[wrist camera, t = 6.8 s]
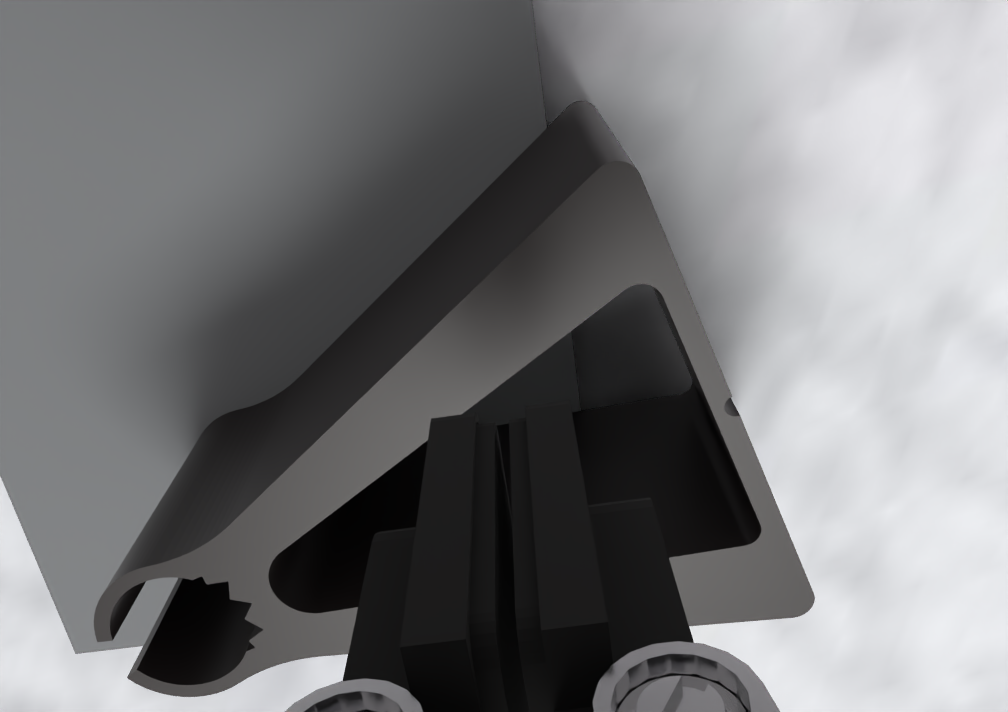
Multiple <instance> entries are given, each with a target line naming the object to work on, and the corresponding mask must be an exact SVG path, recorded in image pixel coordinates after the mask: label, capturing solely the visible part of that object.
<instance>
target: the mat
mask: <svg viewBox="0 0 1008 712" xmlns="http://www.w3.org/2000/svg"><path fill="white" fill-rule="evenodd" d="M546 128H547V125H546V117H545V108H544V100H543V92H542V83H541V75H540V67H539V58H538V50H537V42H536V33H535V25H534V16H533V8H532V0H0V476H1V478H2V481H3V483H4V486H5V488H6V490H7V493H8V495H9V497H10V500H11V502H12V504H13V507H14V509H15V512H16V514H17V516H18V519H19V521H20V523H21V526H22V528H23V530H24V533H25V535H26V538H27V540H28V542H29V545H30V547H31V549H32V552H33V554H34V556H35V559H36V561H37V564H38V566H39V568H40V571H41V573H42V575H43V578H44V580H45V582H46V585H47V587H48V590H49V592H50V594H51V597H52V599H53V601H54V604H55V606H56V608H57V611H58V613H59V616H60V618H61V620H62V623H63V625H64V627H65V630H66V632H67V634H68V637H69V639H70V642H71V644H72V646H73V649H74V651H75V653H76V654H79V653H87V652H96V651H104V650H113V649H121V648H129V647H138V646H144V644H145V642H146V640H147V638H148V636H149V634H150V632H151V630H152V628H153V626H154V624H155V622H156V621H157V619H158V617H159V615H160V613H161V611H162V609H163V607H164V605H165V603H166V601H167V599H168V597H169V595H170V593H171V591H172V589H173V587H174V585H175V583H176V582H177V580H178V578H174V577H168V578H158V579H153V580H149V581H146V582H145V584H144V586H143V588H142V590H141V591H140V593H139V595H138V597H137V598H136V600H135V602H134V604H133V606H132V607H131V609H130V611H129V613H128V615H127V616H126V618H125V620H124V622H123V623H122V625H121V627H120V629H119V631H118V632H117V634H116V636H115V638H114V639H113V641H105V642H97V639H96V636H95V631H94V614H95V609H96V606H97V604H98V601H99V599H100V597H101V596H102V594H103V593H104V591H105V589H106V588H107V586H108V584H109V583H110V581H111V580H112V578H113V576H114V575H115V573H116V572H117V570H118V568H119V567H120V565H121V563H122V562H123V560H124V559H125V557H126V555H127V554H128V552H129V551H130V549H131V547H132V546H133V544H134V542H135V541H136V539H137V538H138V536H139V534H140V533H141V531H142V530H143V528H144V526H145V525H146V523H147V521H148V520H149V518H150V517H151V515H152V513H153V512H154V510H155V509H156V507H157V505H158V504H159V502H160V500H161V499H162V497H163V496H164V494H165V492H166V491H167V489H168V488H169V486H170V484H171V483H172V481H173V479H174V478H175V476H176V475H177V473H178V471H179V470H180V468H181V467H182V465H183V463H184V462H185V460H186V459H187V457H188V455H189V454H190V452H191V450H192V449H193V447H194V446H195V444H196V442H197V441H198V439H199V438H200V436H201V434H202V433H203V431H204V430H205V429H206V428H207V426H208V425H209V424H210V423H212V422H213V421H214V420H215V419H217V418H218V417H220V416H222V415H224V414H226V413H229V412H231V411H235V410H239V409H243V408H247V407H250V406H253V405H256V404H258V403H261V402H263V401H265V400H268V399H269V398H271V397H273V396H275V395H277V394H278V393H280V392H281V391H283V390H284V389H286V388H287V387H288V386H290V385H291V384H292V383H293V382H294V381H295V380H296V379H297V378H299V377H300V376H301V375H302V374H303V373H304V372H305V371H306V370H307V369H308V368H309V367H310V366H311V365H312V364H313V363H314V362H315V361H316V359H317V358H318V357H319V356H320V355H321V354H322V353H323V352H324V351H325V350H326V349H327V348H328V347H329V346H330V345H331V344H332V343H333V342H334V341H335V340H336V339H337V338H338V337H339V336H340V335H341V334H342V333H343V332H344V331H345V330H346V329H347V328H348V327H349V326H350V325H351V324H352V323H353V322H354V321H355V320H356V319H357V318H358V317H359V316H360V315H361V314H362V313H363V312H364V311H365V310H366V309H367V308H368V307H369V306H370V305H371V304H372V303H373V302H374V301H375V300H376V299H377V298H378V297H379V296H380V295H381V294H382V293H383V292H384V291H385V290H386V289H387V288H388V287H389V286H390V285H391V284H392V283H393V282H394V281H395V280H396V279H397V278H398V277H399V276H400V275H401V274H402V273H403V272H404V271H405V270H406V269H407V268H408V267H409V266H410V265H411V264H412V263H413V262H414V261H415V260H416V259H417V258H418V257H419V256H420V255H421V254H422V253H423V252H424V251H425V250H426V249H427V248H428V247H429V246H430V245H431V244H432V243H433V242H434V241H435V240H436V239H437V238H438V237H439V236H440V235H441V234H442V233H443V232H444V231H445V230H446V229H447V228H448V227H449V226H450V225H451V224H452V223H453V222H454V221H455V220H456V219H457V218H458V217H459V216H460V215H461V214H462V213H463V212H464V211H465V210H466V209H467V208H468V207H469V206H470V205H471V204H472V203H473V202H474V201H475V200H476V199H477V198H478V197H479V196H480V195H481V194H482V193H483V192H484V191H485V190H486V189H487V188H488V187H489V186H490V185H491V184H492V183H493V182H494V181H495V180H496V179H497V178H498V177H499V176H500V175H501V174H502V173H503V172H504V171H505V170H506V169H507V168H508V167H509V166H510V165H511V164H512V163H513V162H514V161H515V160H516V159H517V158H518V157H519V156H520V155H521V154H522V153H523V152H524V151H525V150H526V149H527V148H528V147H529V146H530V145H531V144H532V143H533V142H534V141H535V140H536V138H537V137H538V136H539V135H540V134H541V133H542V132H543V131H544V130H545V129H546ZM567 400H570V405H571V410H572V412H578V411H581V409H580V400H579V392H578V384H577V375H576V367H575V359H574V350H573V342H572V333H571V331H570V332H569V333H568V334H567V335H565V336H564V337H563V338H561V339H560V340H559V341H557V342H556V343H555V344H553V345H552V346H551V347H549V348H548V349H547V350H546V351H544V352H543V353H542V354H540V355H539V356H538V357H536V358H535V359H534V360H532V361H531V362H530V363H528V364H527V365H526V366H525V367H523V368H522V369H521V370H519V371H518V372H517V373H515V374H514V375H513V376H511V377H510V378H509V379H507V380H506V381H505V382H504V383H502V384H501V385H500V386H498V387H497V388H496V389H494V390H493V391H492V392H490V393H489V394H488V395H486V396H485V397H484V398H483V399H481V400H480V401H479V402H477V403H476V404H475V405H473V406H472V407H471V408H469V409H468V410H467V411H465V412H464V413H463V414H469V413H477V415H478V419H479V423H480V424H483V423H490V422H495V423H496V425H502V424H508V423H509V420H513V419H521V418H526V411H525V406H529V405H537V404H544V403H552V402H559V401H567Z"/></svg>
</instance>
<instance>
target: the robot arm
mask: <svg viewBox="0 0 1008 712" xmlns="http://www.w3.org/2000/svg"><path fill="white" fill-rule="evenodd" d="M525 411H526V418H521V419H513V420H509V436H510V466H511V496H512V516H511V510H510V504H509V498H508V492H507V486H506V479H505V473H504V467H503V461H502V455H501V449H500V443H499V437H498V431H497V427H496V423H495V422H490V423H483V424H480V423H479V419H478V415H477V413H469V414H461V415H454V416H446V417H439V418H431V422H430V429H429V436H428V443H427V451H426V458H425V465H424V473H423V480H422V487H421V495H420V502H419V509H418V516H417V524H416V527H413V528H405V529H397V530H389V531H381V532H377V533H376V534H374V537H373V540H372V544H371V548H370V553H369V558H368V563H367V567H366V572H365V577H364V582H363V587H362V591H361V596H360V601H359V606H358V610H357V615H356V620H355V625H354V629H353V634H352V639H351V644H350V649H349V653H348V658H347V663H346V668H345V672H344V677H343V681H341V682H338V683H335V684H332V685H329V686H326V687H324V688H321V689H318V690H316V691H314V692H312V693H311V694H309V695H307V696H306V697H304V698H302V699H301V700H299V701H297V702H295V703H294V704H293V705H292V706H291V707H290V708H288V709H287V710H286V711H285V712H780V711H779V709H778V707H777V706H776V704H775V702H774V701H773V699H772V697H771V696H770V694H769V692H768V690H767V689H766V687H765V685H764V684H763V682H762V681H761V680H760V679H759V678H758V676H757V675H756V674H755V673H754V672H753V670H752V669H751V668H750V667H749V666H748V665H747V664H745V663H744V662H742V661H741V660H739V659H738V658H736V657H735V656H733V655H731V654H730V653H728V652H726V651H723V650H720V649H717V648H714V647H711V646H708V645H705V644H700V643H694V642H693V638H692V635H691V632H690V628H689V625H688V621H687V618H686V615H685V611H684V608H683V604H682V601H681V598H680V594H679V591H678V587H677V584H676V580H675V577H674V574H673V570H672V567H671V563H670V560H669V557H668V553H667V550H666V546H665V543H664V540H663V536H662V533H661V529H660V526H659V522H658V519H657V516H656V512H655V509H654V506H653V503H652V500H651V499H650V498H641V499H633V500H625V501H617V502H610V503H602V504H594V505H588V503H587V497H586V491H585V486H584V480H583V474H582V468H581V462H580V457H579V451H578V445H577V439H576V434H575V428H574V422H573V416H572V410H571V405H570V400H567V401H559V402H552V403H544V404H537V405H529V406H525Z"/></svg>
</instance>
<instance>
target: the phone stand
mask: <svg viewBox="0 0 1008 712" xmlns="http://www.w3.org/2000/svg"><path fill="white" fill-rule="evenodd" d="M638 284H646V285H650V286H652V287H653V289H654V291H655V294H656V296H657V298H658V301H659V303H660V305H661V308H662V310H663V312H664V314H665V317H666V319H667V321H668V324H669V326H670V328H671V331H672V333H673V335H674V338H675V340H676V342H677V345H678V347H679V349H680V352H681V354H682V356H683V359H684V361H685V363H686V366H687V368H688V370H689V373H690V375H691V377H692V386H691V388H690V389H689V390H688V391H687V392H685V393H683V394H678V395H672V396H666V397H660V398H654V399H648V400H643V401H637V402H631V403H625V404H619V405H613V406H607V407H602V408H596V409H590V410H584V411H578V412H572V416H573V422H574V428H575V434H576V439H577V445H578V451H579V457H580V462H581V468H582V474H583V480H584V486H585V491H586V497H587V503H588V505H594V504H602V503H610V502H617V501H625V500H633V499H641V498H650V499H651V500H652V503H653V506H654V509H655V512H656V516H657V519H658V522H659V526H660V529H661V533H662V536H663V540H664V543H665V546H666V550H667V553H668V557H669V560H670V563H671V567H672V570H673V574H674V577H675V580H676V584H677V587H678V591H679V594H680V598H681V601H682V604H683V608H684V611H685V615H686V618H687V621H688V625H689V626H696V625H709V624H721V623H733V622H745V621H758V620H770V619H782V618H794V617H798V616H801V615H803V614H805V613H806V612H808V611H809V610H810V609H811V607H812V606H813V603H814V599H815V597H814V593H813V591H812V588H811V586H810V584H809V581H808V579H807V576H806V574H805V571H804V569H803V567H802V564H801V562H800V559H799V557H798V555H797V552H796V550H795V547H794V545H793V542H792V540H791V538H790V535H789V533H788V530H787V528H786V526H785V523H784V521H783V518H782V516H781V514H780V511H779V509H778V506H777V504H776V501H775V499H774V497H773V494H772V492H771V489H770V487H769V485H768V482H767V480H766V477H765V475H764V473H763V470H762V468H761V465H760V463H759V460H758V458H757V456H756V453H755V451H754V448H753V446H752V444H751V441H750V439H749V436H748V434H747V432H746V429H745V427H744V424H743V422H742V419H741V417H740V415H739V413H738V411H737V409H736V407H735V405H734V404H733V402H732V400H731V398H730V397H732V395H731V393H730V390H729V388H728V386H727V383H726V381H725V378H724V376H723V374H722V371H721V369H720V366H719V364H718V362H717V359H716V357H715V354H714V352H713V349H712V347H711V345H710V342H709V340H708V337H707V335H706V333H705V330H704V328H703V325H702V323H701V321H700V318H699V316H698V313H697V311H696V308H695V306H694V304H693V301H692V299H691V296H690V294H689V292H688V289H687V287H686V284H685V282H684V280H683V277H682V275H681V272H680V270H679V267H678V265H677V263H676V260H675V258H674V255H673V253H672V251H671V248H670V246H669V243H668V241H667V238H666V236H665V234H664V231H663V229H662V226H661V224H660V222H659V219H658V217H657V214H656V212H655V210H654V207H653V205H652V202H651V200H650V197H649V195H648V193H647V190H646V188H645V185H644V183H643V181H642V178H641V176H640V174H639V172H638V170H637V169H636V167H635V166H634V164H633V163H632V161H631V160H630V158H629V157H628V155H627V154H626V152H625V151H624V150H623V148H622V147H621V145H620V144H619V142H618V141H617V139H616V138H615V136H614V135H613V133H612V132H611V130H610V129H609V127H608V126H607V124H606V123H605V121H604V120H603V118H602V117H601V115H600V114H599V112H598V111H597V109H596V108H595V107H594V106H593V105H592V104H591V103H589V102H585V101H578V102H575V103H572V104H571V105H570V106H568V107H567V108H566V109H565V110H564V111H563V112H562V113H561V114H560V115H559V116H558V117H557V118H556V119H555V120H554V121H553V122H552V123H551V124H550V125H549V126H548V127H547V128H546V129H545V130H544V131H543V132H542V133H541V134H540V135H539V136H538V137H537V138H536V140H535V141H534V142H533V143H532V144H531V145H530V146H529V147H528V148H527V149H526V150H525V151H524V152H523V153H522V154H521V155H520V156H519V157H518V158H517V159H516V160H515V161H514V162H513V163H512V164H511V165H510V166H509V167H508V168H507V169H506V170H505V171H504V172H503V173H502V174H501V175H500V176H499V177H498V178H497V179H496V180H495V181H494V182H493V183H492V184H491V185H490V186H489V187H488V188H487V189H486V190H485V191H484V192H483V193H482V194H481V195H480V196H479V197H478V198H477V199H476V200H475V201H474V202H473V203H472V204H471V205H470V206H469V207H468V208H467V209H466V210H465V211H464V212H463V213H462V214H461V215H460V216H459V217H458V218H457V219H456V220H455V221H454V222H453V223H452V224H451V225H450V226H449V227H448V228H447V229H446V230H445V231H444V232H443V233H442V234H441V235H440V236H439V237H438V238H437V239H436V240H435V241H434V242H433V243H432V244H431V245H430V246H429V247H428V248H427V249H426V250H425V251H424V252H423V253H422V254H421V255H420V256H419V257H418V258H417V259H416V260H415V261H414V262H413V263H412V264H411V265H410V266H409V267H408V268H407V269H406V270H405V271H404V272H403V273H402V274H401V275H400V276H399V277H398V278H397V279H396V280H395V281H394V282H393V283H392V284H391V285H390V286H389V287H388V288H387V289H386V290H385V291H384V292H383V293H382V294H381V295H380V296H379V297H378V298H377V299H376V300H375V301H374V302H373V303H372V304H371V305H370V306H369V307H368V308H367V309H366V310H365V311H364V312H363V313H362V314H361V315H360V316H359V317H358V318H357V319H356V320H355V321H354V322H353V323H352V324H351V325H350V326H349V327H348V328H347V329H346V330H345V331H344V332H343V333H342V334H341V335H340V336H339V337H338V338H337V339H336V340H335V341H334V342H333V343H332V344H331V345H330V346H329V347H328V348H327V349H326V350H325V351H324V352H323V353H322V354H321V355H320V356H319V357H318V358H317V359H316V361H315V362H314V363H313V364H312V365H311V366H310V367H309V368H308V369H307V370H306V371H305V372H304V373H303V374H302V375H301V376H300V377H299V378H297V379H296V380H295V381H294V382H293V383H292V384H291V385H290V386H288V387H287V388H286V389H284V390H283V391H281V392H280V393H278V394H277V395H275V396H273V397H271V398H269V399H268V400H265V401H263V402H261V403H258V404H256V405H253V406H250V407H247V408H243V409H239V410H235V411H231V412H229V413H226V414H224V415H222V416H220V417H218V418H217V419H215V420H214V421H213V422H212V423H210V424H209V425H208V426H207V428H206V429H205V430H204V431H203V433H202V434H201V436H200V438H199V439H198V441H197V442H196V444H195V446H194V447H193V449H192V450H191V452H190V454H189V455H188V457H187V459H186V460H185V462H184V463H183V465H182V467H181V468H180V470H179V471H178V473H177V475H176V476H175V478H174V479H173V481H172V483H171V484H170V486H169V488H168V489H167V491H166V492H165V494H164V496H163V497H162V499H161V500H160V502H159V504H158V505H157V507H156V509H155V510H154V512H153V513H152V515H151V517H150V518H149V520H148V521H147V523H146V525H145V526H144V528H143V530H142V531H141V533H140V534H139V536H138V538H137V539H136V541H135V542H134V544H133V546H132V547H131V549H130V551H129V552H128V554H127V555H126V557H125V559H124V560H123V562H122V563H121V565H120V567H119V568H118V570H117V572H116V573H115V575H114V576H113V578H112V580H111V581H110V583H109V584H108V586H107V588H106V589H105V591H104V593H103V594H102V596H101V597H100V599H99V601H98V604H97V606H96V609H95V614H94V631H95V636H96V639H97V642H105V641H113V639H114V638H115V636H116V634H117V632H118V631H119V629H120V627H121V625H122V623H123V622H124V620H125V618H126V616H127V615H128V613H129V611H130V609H131V607H132V606H133V604H134V602H135V600H136V598H137V597H138V595H139V593H140V591H141V590H142V588H143V586H144V584H145V582H146V581H149V580H153V579H158V578H168V577H174V578H178V580H177V582H176V583H175V585H174V587H173V589H172V591H171V593H170V595H169V597H168V599H167V601H166V603H165V605H164V607H163V609H162V611H161V613H160V615H159V617H158V619H157V621H156V622H155V624H154V626H153V628H152V630H151V632H150V634H149V636H148V638H147V640H146V642H145V644H144V646H143V648H142V650H141V652H140V654H139V656H138V658H137V660H136V661H135V663H134V665H133V667H132V669H131V671H130V673H129V675H128V677H127V678H128V679H130V680H131V681H133V682H135V683H136V684H138V685H140V686H142V687H145V688H147V689H150V690H152V691H155V692H159V693H162V694H167V695H173V696H181V697H197V696H206V695H211V694H215V693H219V692H222V691H224V690H227V689H229V688H231V687H233V686H235V685H237V684H238V683H240V682H242V681H243V680H245V679H246V678H248V677H250V676H252V675H254V674H256V673H258V672H260V671H263V670H265V669H268V668H270V667H273V666H276V665H279V664H282V663H286V662H290V661H294V660H298V659H304V658H310V657H319V656H330V655H342V654H348V653H349V649H350V644H351V639H352V634H353V629H354V625H355V620H356V615H357V610H358V606H359V601H360V596H361V591H362V587H363V582H364V577H365V572H366V567H367V563H368V558H369V553H370V548H371V544H372V540H373V537H374V534H376V533H377V532H381V531H389V530H397V529H405V528H413V527H416V524H417V516H418V509H419V502H420V495H421V487H422V480H423V473H424V465H425V458H426V451H427V443H428V436H429V429H430V422H431V418H439V417H446V416H454V415H461V414H463V413H464V412H465V411H467V410H468V409H469V408H471V407H472V406H473V405H475V404H476V403H477V402H479V401H480V400H481V399H483V398H484V397H485V396H486V395H488V394H489V393H490V392H492V391H493V390H494V389H496V388H497V387H498V386H500V385H501V384H502V383H504V382H505V381H506V380H507V379H509V378H510V377H511V376H513V375H514V374H515V373H517V372H518V371H519V370H521V369H522V368H523V367H525V366H526V365H527V364H528V363H530V362H531V361H532V360H534V359H535V358H536V357H538V356H539V355H540V354H542V353H543V352H544V351H546V350H547V349H548V348H549V347H551V346H552V345H553V344H555V343H556V342H557V341H559V340H560V339H561V338H563V337H564V336H565V335H567V334H568V333H569V332H570V331H572V330H573V329H574V328H576V327H577V326H578V325H580V324H581V323H582V322H584V321H585V320H586V319H588V318H589V317H590V316H591V315H593V314H594V313H595V312H597V311H598V310H599V309H601V308H602V307H603V306H605V305H606V304H607V303H609V302H610V301H611V300H612V299H614V298H615V297H616V296H618V295H619V294H620V293H622V292H623V291H624V290H626V289H627V288H629V287H631V286H634V285H638ZM496 427H497V431H498V437H499V443H500V449H501V455H502V461H503V467H504V473H505V479H506V486H507V492H508V498H509V504H510V510H511V516H512V496H511V466H510V436H509V423H508V424H502V425H496Z"/></svg>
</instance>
